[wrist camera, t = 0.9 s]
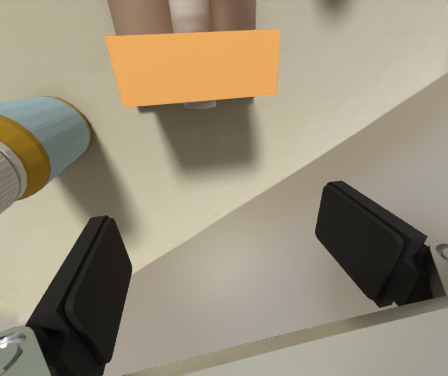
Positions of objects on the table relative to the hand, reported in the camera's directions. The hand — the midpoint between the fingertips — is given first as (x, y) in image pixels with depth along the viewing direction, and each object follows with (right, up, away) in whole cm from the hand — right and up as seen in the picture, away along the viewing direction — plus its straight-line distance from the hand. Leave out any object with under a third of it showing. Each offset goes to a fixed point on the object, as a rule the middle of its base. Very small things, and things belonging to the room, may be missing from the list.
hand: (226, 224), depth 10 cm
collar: (-3, +14, +12) cm, 19 cm away
